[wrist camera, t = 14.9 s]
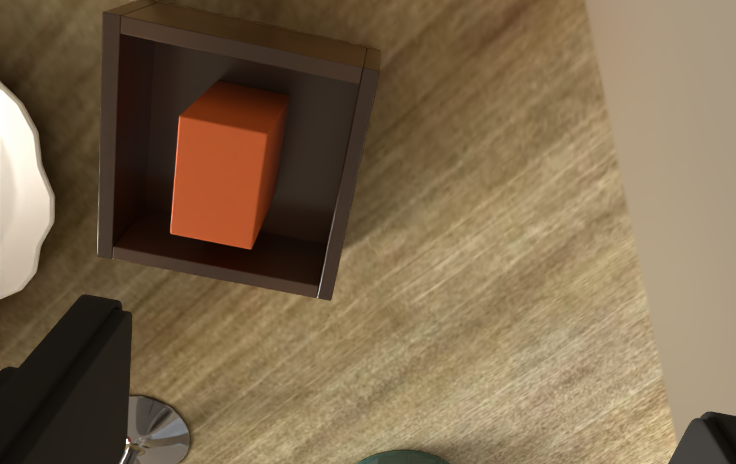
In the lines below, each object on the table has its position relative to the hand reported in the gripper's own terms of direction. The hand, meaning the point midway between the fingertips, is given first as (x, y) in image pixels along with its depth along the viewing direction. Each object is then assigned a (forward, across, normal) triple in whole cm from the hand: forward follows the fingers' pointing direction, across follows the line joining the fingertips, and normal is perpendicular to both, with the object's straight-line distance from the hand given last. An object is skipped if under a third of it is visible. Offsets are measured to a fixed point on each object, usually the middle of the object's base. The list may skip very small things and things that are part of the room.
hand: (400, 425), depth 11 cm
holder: (+27, +8, +5) cm, 28 cm away
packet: (+26, +8, +5) cm, 28 cm away
